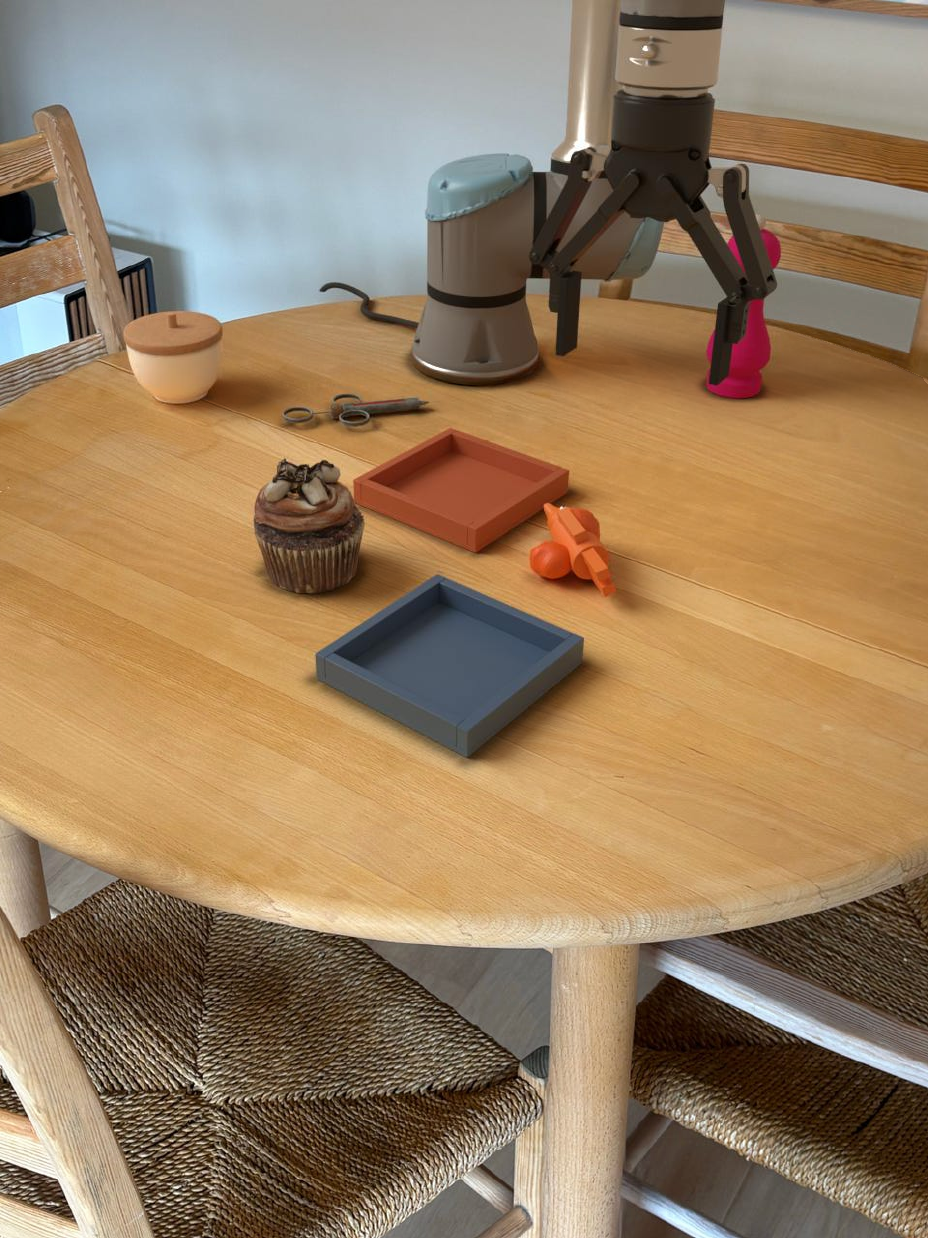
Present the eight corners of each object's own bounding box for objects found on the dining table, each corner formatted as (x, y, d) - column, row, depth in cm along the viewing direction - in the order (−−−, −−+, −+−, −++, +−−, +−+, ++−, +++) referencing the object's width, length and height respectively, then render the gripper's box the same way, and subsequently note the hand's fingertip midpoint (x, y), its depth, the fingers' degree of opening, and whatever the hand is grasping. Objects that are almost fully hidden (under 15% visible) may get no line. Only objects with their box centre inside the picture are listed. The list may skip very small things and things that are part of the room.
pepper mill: (695, 394, 143) (718, 219, 132) (709, 371, 149) (732, 201, 138) (758, 404, 141) (786, 228, 130) (769, 381, 147) (798, 209, 136)
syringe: (452, 422, 137) (452, 407, 136) (288, 438, 133) (287, 424, 132) (435, 393, 143) (435, 379, 142) (278, 408, 139) (277, 394, 138)
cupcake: (255, 601, 106) (245, 498, 101) (261, 543, 114) (252, 445, 109) (367, 597, 107) (363, 495, 102) (365, 540, 115) (361, 442, 110)
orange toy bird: (628, 546, 104) (577, 480, 113) (547, 583, 103) (502, 514, 113) (641, 591, 107) (590, 524, 116) (562, 627, 106) (517, 556, 116)
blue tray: (316, 679, 98) (314, 653, 96) (437, 598, 107) (437, 573, 106) (467, 758, 90) (467, 731, 89) (582, 663, 100) (584, 637, 98)
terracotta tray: (353, 502, 121) (352, 479, 120) (449, 449, 131) (450, 427, 130) (475, 553, 114) (476, 529, 112) (568, 492, 123) (569, 469, 122)
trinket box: (163, 421, 136) (152, 339, 130) (115, 390, 142) (103, 310, 137) (246, 395, 141) (239, 315, 136) (196, 366, 148) (188, 289, 143)
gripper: (493, 81, 95) (486, 351, 106) (816, 110, 84) (772, 407, 95) (537, 71, 101) (526, 329, 111) (845, 97, 90) (801, 379, 101)
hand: (640, 365), depth 103 cm, fingers open, 13 cm apart
